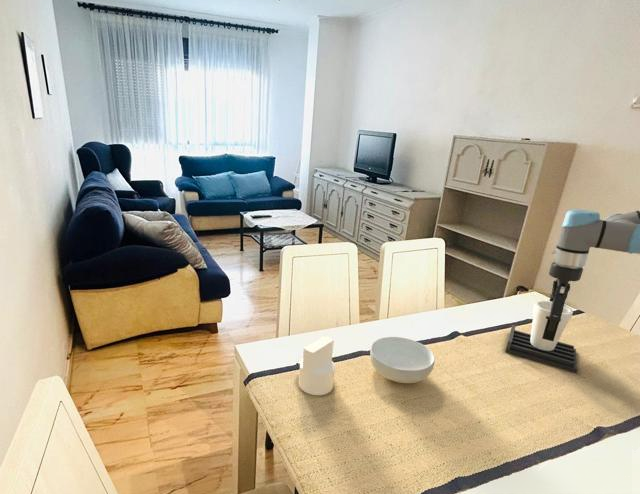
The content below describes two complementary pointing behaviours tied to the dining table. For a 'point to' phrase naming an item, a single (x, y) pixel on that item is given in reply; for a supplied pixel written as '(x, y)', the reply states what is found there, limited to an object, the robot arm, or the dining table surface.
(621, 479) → the dining table surface
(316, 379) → the base with upright slab
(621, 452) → the dining table surface
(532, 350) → the drying rack
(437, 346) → the dining table surface
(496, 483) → the dining table surface
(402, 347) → the cereal bowl
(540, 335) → the foam cup
